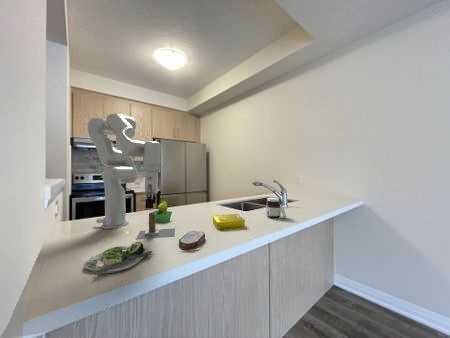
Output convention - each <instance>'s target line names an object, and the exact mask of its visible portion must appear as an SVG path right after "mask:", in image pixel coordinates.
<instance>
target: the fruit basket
mask: <svg viewBox="0 0 450 338" xmlns="http://www.w3.org/2000/svg"><path fill="white" fill-rule="evenodd" d="M150 213H155V220H156V223H166V222H169V221H171V217H172V214H173V211H168V203H167V202H166V201H165V200H162V201H161V202H160V203H159V204H158V205H157V210H154V211H151V212H150Z"/></svg>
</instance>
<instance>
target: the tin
mask: <svg viewBox="0 0 450 338" xmlns="http://www.w3.org/2000/svg"><path fill="white" fill-rule="evenodd" d="M205 241H206V234H205V232H204V231H197V230H196V231H195V230H192V231H189V232H186V233H185V235H183V236H182V237H181V238H179V240H178V247H179V248H181V250H183V251H194V250H196V249H198V248H199V246H201V245H203V243H204V242H205Z"/></svg>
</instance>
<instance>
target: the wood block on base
mask: <svg viewBox="0 0 450 338" xmlns="http://www.w3.org/2000/svg"><path fill="white" fill-rule="evenodd" d="M156 224H157V222H156V220H155V213H151V212H149V213H148V229H146V231H145V236H153V235H159V232H160V229H161V228H156Z"/></svg>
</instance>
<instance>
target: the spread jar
mask: <svg viewBox="0 0 450 338" xmlns="http://www.w3.org/2000/svg"><path fill="white" fill-rule="evenodd" d="M279 201H280V198H278V197H267V202H266V204H265V205H266V206H265V207H266V209H265V210H266V211H265V213H266V217H267V218H269V219H279V218H280V217H281V216H282V218H283V219H287V214H286V211H285V209H284V207H283V206H282V207H281V203H280V202H279Z"/></svg>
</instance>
